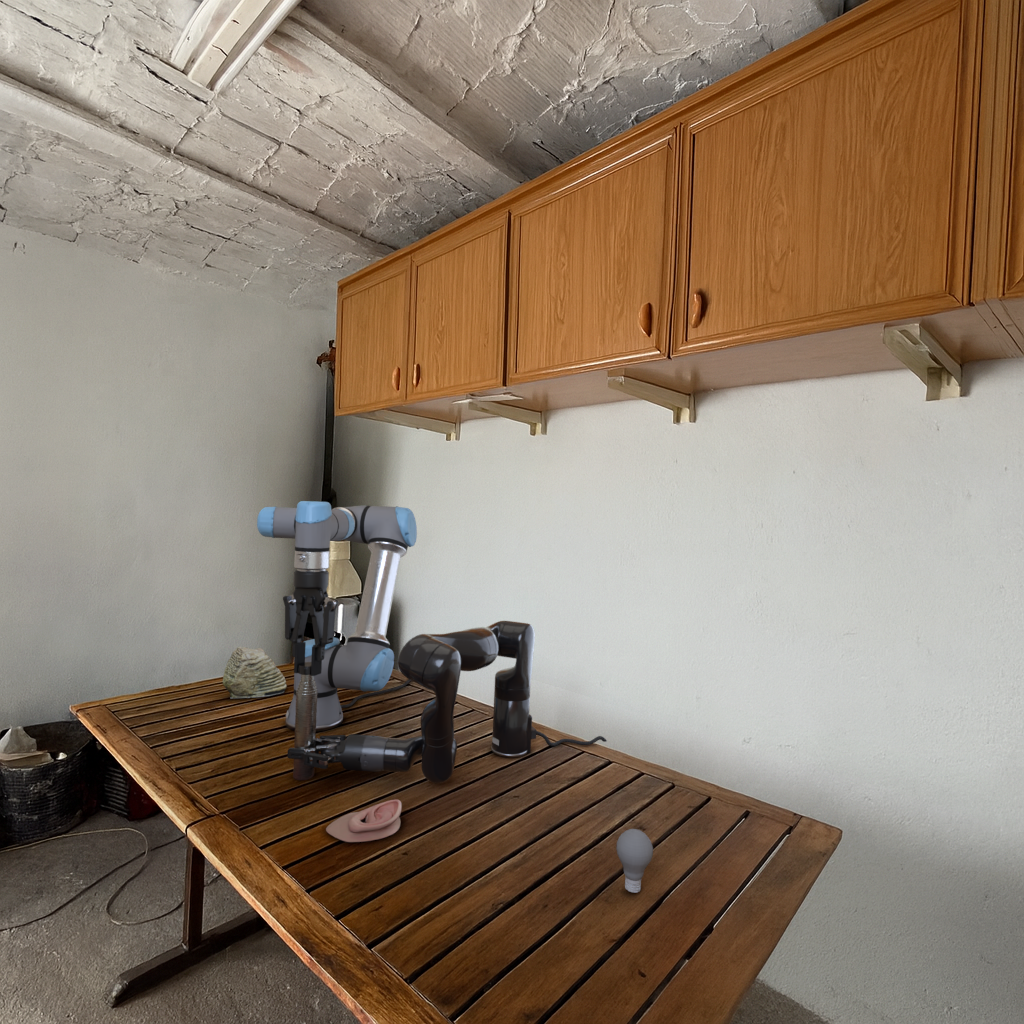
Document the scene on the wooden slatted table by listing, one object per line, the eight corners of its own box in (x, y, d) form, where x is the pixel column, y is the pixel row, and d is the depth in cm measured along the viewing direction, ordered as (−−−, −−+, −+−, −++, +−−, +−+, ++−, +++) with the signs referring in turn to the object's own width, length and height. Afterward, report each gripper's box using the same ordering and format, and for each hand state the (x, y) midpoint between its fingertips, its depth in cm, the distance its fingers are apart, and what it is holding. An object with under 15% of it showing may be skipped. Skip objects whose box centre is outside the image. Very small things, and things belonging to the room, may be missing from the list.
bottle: (289, 779, 141) (294, 670, 141) (297, 771, 146) (301, 664, 145) (309, 780, 141) (313, 671, 140) (317, 772, 145) (321, 666, 145)
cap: (320, 673, 143) (320, 664, 143) (302, 676, 140) (302, 667, 140) (312, 669, 146) (313, 661, 146) (295, 671, 143) (295, 663, 143)
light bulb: (610, 879, 108) (613, 822, 108) (644, 879, 109) (647, 822, 109) (619, 902, 102) (622, 840, 102) (655, 901, 103) (658, 840, 103)
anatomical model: (318, 816, 117) (346, 789, 129) (317, 837, 118) (346, 808, 129) (385, 827, 115) (408, 798, 126) (384, 848, 115) (407, 818, 126)
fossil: (218, 695, 195) (220, 647, 195) (278, 685, 208) (279, 640, 207) (228, 703, 189) (230, 653, 188) (289, 692, 201) (290, 645, 201)
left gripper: (269, 568, 142) (265, 671, 142) (332, 574, 136) (328, 682, 136) (292, 565, 149) (288, 664, 149) (353, 571, 143) (349, 674, 143)
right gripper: (376, 725, 150) (305, 721, 150) (358, 749, 135) (280, 744, 136) (374, 756, 150) (303, 752, 150) (357, 783, 135) (279, 778, 136)
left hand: (307, 672), depth 143 cm, fingers closed on cap, 4 cm apart
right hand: (293, 748), depth 143 cm, fingers closed on bottle, 4 cm apart
